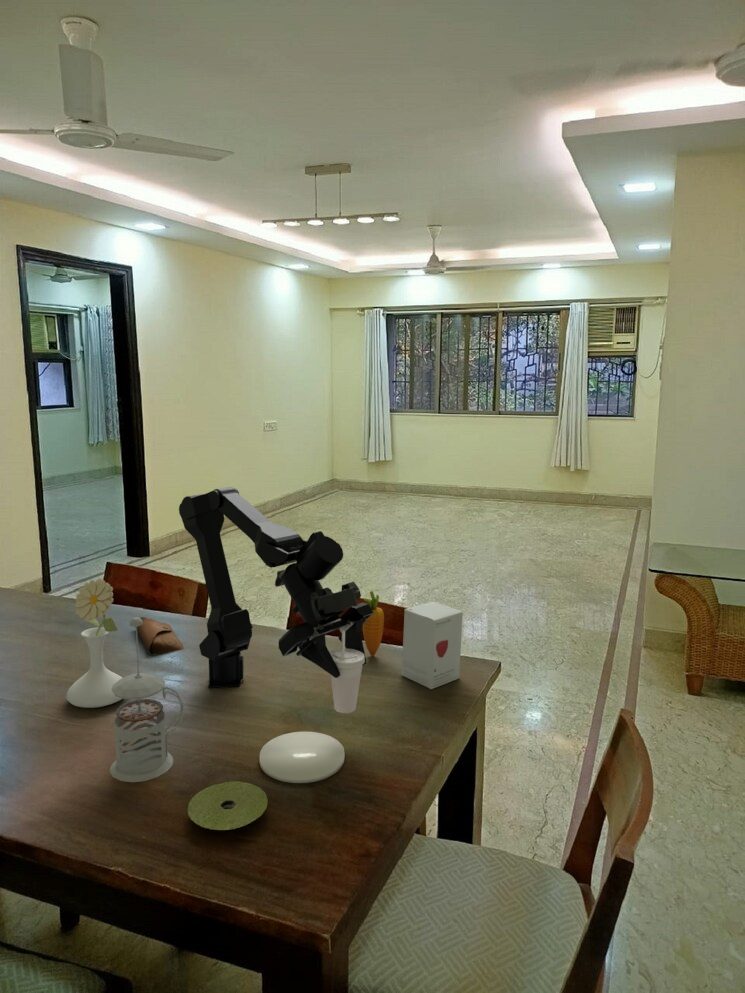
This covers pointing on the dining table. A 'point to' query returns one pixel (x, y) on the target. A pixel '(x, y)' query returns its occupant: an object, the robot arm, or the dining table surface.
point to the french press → (141, 726)
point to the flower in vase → (95, 648)
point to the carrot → (373, 626)
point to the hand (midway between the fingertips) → (351, 670)
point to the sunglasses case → (158, 637)
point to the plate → (302, 757)
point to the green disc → (227, 805)
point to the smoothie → (346, 677)
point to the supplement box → (432, 644)
